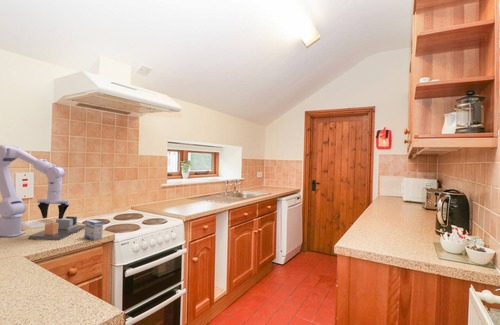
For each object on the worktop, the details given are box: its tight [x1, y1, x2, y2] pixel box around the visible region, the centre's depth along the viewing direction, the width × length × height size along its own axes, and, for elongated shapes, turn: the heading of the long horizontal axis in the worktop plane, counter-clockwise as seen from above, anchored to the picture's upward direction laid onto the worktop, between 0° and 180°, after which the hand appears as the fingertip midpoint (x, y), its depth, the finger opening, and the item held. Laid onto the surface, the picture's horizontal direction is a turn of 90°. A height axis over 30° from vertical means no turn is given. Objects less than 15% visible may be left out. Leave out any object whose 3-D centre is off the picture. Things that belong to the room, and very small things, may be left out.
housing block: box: [44, 220, 59, 235], centre depth 137 cm, size 4×4×6 cm
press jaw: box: [55, 215, 78, 229], centre depth 150 cm, size 7×9×5 cm
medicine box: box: [84, 219, 104, 241], centre depth 138 cm, size 8×4×9 cm, turn 62°
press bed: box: [28, 223, 85, 241], centre depth 144 cm, size 14×24×4 cm, turn 4°
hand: (52, 218), depth 137 cm, fingers open, 7 cm apart
